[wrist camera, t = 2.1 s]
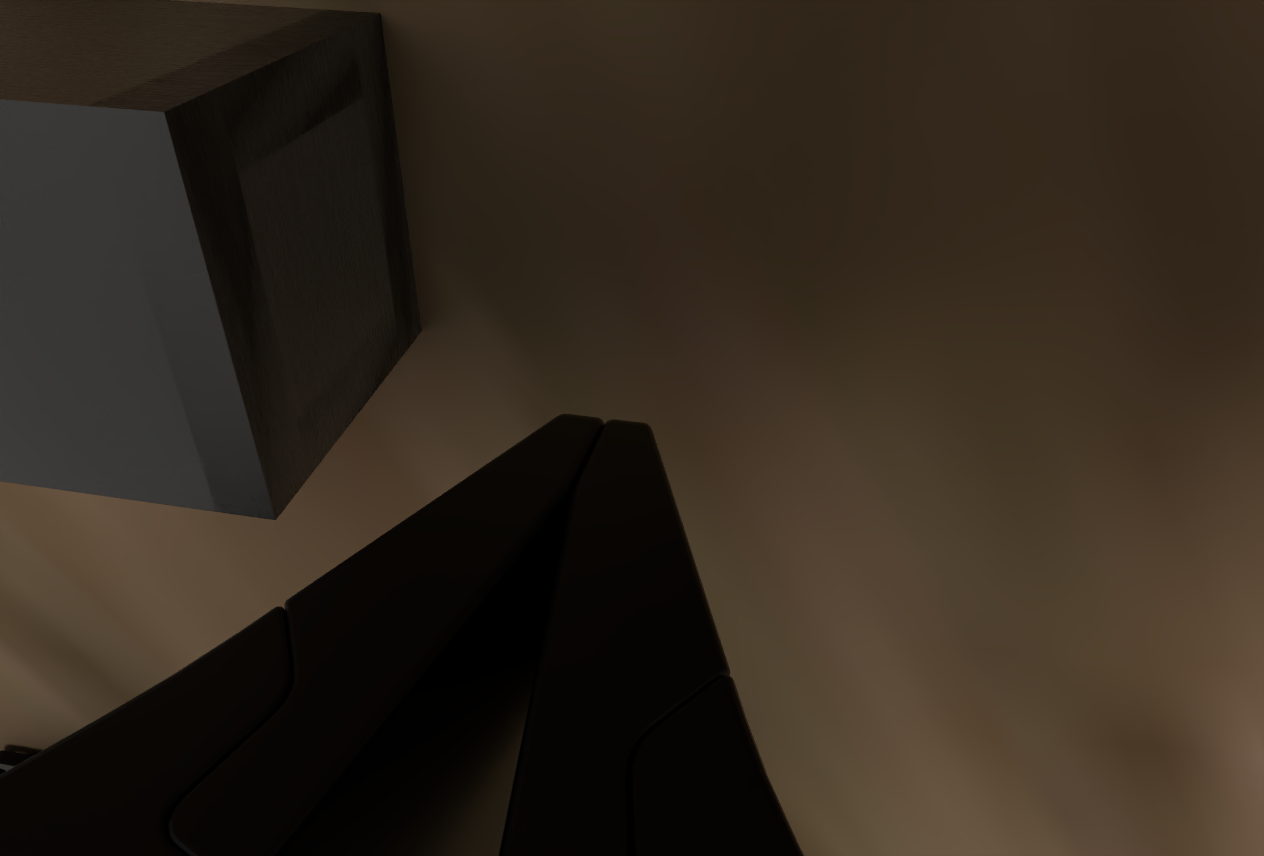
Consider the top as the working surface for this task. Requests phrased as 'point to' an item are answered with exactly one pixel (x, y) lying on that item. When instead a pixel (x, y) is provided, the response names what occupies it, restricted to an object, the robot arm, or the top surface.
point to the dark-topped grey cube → (194, 246)
